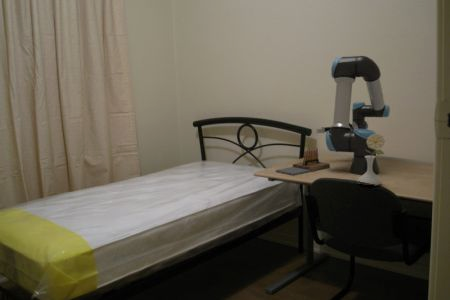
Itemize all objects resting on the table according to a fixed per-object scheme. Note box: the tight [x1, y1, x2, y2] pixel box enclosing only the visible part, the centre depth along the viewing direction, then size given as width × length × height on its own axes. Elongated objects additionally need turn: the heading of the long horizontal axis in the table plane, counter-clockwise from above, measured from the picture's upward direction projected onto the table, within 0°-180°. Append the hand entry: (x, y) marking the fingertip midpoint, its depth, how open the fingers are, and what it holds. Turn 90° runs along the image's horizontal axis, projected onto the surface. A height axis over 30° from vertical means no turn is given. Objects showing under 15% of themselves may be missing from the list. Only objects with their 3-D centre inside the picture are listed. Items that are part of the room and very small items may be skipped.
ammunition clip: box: [302, 147, 320, 166], centre depth 246 cm, size 11×2×12 cm, turn 120°
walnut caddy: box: [292, 161, 331, 173], centre depth 247 cm, size 14×16×2 cm
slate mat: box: [275, 166, 311, 176], centre depth 238 cm, size 14×13×1 cm
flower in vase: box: [357, 132, 386, 186], centre depth 200 cm, size 13×11×25 cm
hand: (325, 132), depth 251 cm, fingers open, 13 cm apart
